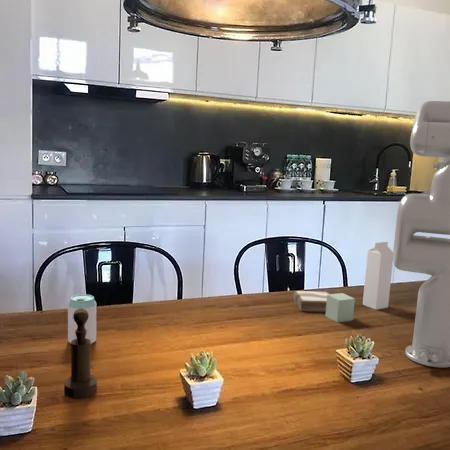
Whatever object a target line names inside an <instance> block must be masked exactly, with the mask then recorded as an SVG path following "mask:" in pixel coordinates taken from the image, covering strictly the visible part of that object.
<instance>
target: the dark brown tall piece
mask: <svg viewBox="0 0 450 450" xmlns="http://www.w3.org/2000/svg"><path fill="white" fill-rule="evenodd" d="M88 317H89V314H88V312H87V310H85V309H77V310H76V311H75V312H74V315H73V318H74V320H75V322H76V324H77V326H78V328H77V329H76V330H75V333H76V337H77V339H74V340H72V341H71V343H70V356H71V358H70V359H71V361H70V363H71V365H70V368H71V370H70V372H71V373H70V374H71V375H70V376H69V377H68V378H67V379H66V380H65V381H64V383H63V384H64V389H63V390H64V391H63V392H64V395H65V397H67V398H70V399H79V400H80V399H85V398H89V397H92V396H94V395H95V394H96V393H97V391H98V380H97V378H96V377H95V376H93V375H92V374H91V345H92V344H91V341H90V340H89V339H87V338H85V337H86V333H87V330H86V329H85V323H86V322H87V320H88Z"/></svg>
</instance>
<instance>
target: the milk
mask: <svg viewBox="0 0 450 450" xmlns="http://www.w3.org/2000/svg"><path fill="white" fill-rule="evenodd" d="M388 244H389V242H388V241H382V242H381V241H380V242H375V244H374V247H373V248H370V249H368V250H367V254H366V265H365V266H366V267H365V275H364V277H365V278H364V287H363V295H362V296H363V297H362V305H363V306H366V307H368V308H370V309H373V310H375V311H376V310H382V309H387V308H389V302H390V290H391V283H392V272H393V271H392V270H393V266H394V263H393V251H392V249H391V248H390V247H389V245H388Z"/></svg>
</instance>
